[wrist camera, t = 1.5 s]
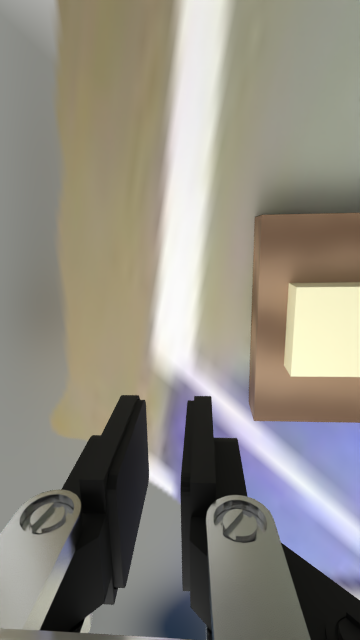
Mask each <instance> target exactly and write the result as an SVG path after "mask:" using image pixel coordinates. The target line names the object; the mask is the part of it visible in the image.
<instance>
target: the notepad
mask: <svg viewBox="0 0 360 640" xmlns="http://www.w3.org/2000/svg"><path fill="white" fill-rule="evenodd" d="M284 366H285V368H286V369H287V371H288V373H289V374H290V376H295V377H360V282H345V283H289V288H288V305H287V322H286V339H285V356H284Z"/></svg>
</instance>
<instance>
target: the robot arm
mask: <svg viewBox="0 0 360 640" xmlns="http://www.w3.org/2000/svg"><path fill="white" fill-rule="evenodd" d="M148 480H149V463H148V442H147V420H146V402H145V400H140V398H139V396H137V395H122V396H121V397H120V399H119V401H118V403H117V405H116V407H115V409H114V411H113V413H112V415H111V417H110V419H109V421H108V423H107V425H106V427H105V429H104V431H103V433H102V435H93V436H91V438H90V439H89V441H88V442H87V444H86V446H85V448H84V450H83V452H82V453H81V455H80V457H79V459H78V461H77V462H76V464H75V466H74V468H73V470H72V471H71V473H70V475H69V477H68V479H67V480H66V482H65V484H64V486H63V488H62V489H61V490H50V491H47V492H43V493H40V494H38V495H36V496H34V497H32V498H31V499H29V500H28V501H26V502H25V503H24V504H23V505H22V506H21V507H20V508H19V509H18V510H17V511H16V513H15V514H14V515H13V517H12V518H11V519H10V521H9V522H8V524H7V525H6V526H5V528H4V529H3V530H2V532H1V533H0V640H189V639H174V638H158V637H141V636H124V635H108V634H91V633H89V631H90V628H91V623H92V612H93V611H94V610H96V609H97V608H98V607H100V606H101V605H102V604H111V605H113V604H114V603H115V598H116V594H117V590H118V588H125V586H126V583H127V578H128V574H129V569H130V565H131V560H132V555H133V551H134V545H135V541H136V537H137V532H138V528H139V523H140V519H141V514H142V509H143V505H144V500H145V495H146V491H147V486H148ZM181 532H182V581H183V591H190V601H191V608H192V609H193V610H194V612H195V613H196V614H197V615H198V616H199V617H200V618H201V619H202V620H203V622H204V623H205V624H206V640H360V600H358V599H357V598H356V597H354V596H353V595H352V594H350V593H349V592H347V591H346V590H345V589H343V588H342V587H341V586H339V585H338V584H337V583H335V582H334V581H333V580H331V579H330V578H328V577H327V576H326V575H324V574H323V573H322V572H320V571H319V570H318V569H316V568H315V567H313V566H312V565H311V564H309V563H308V562H307V561H305V560H304V559H303V558H301V557H300V556H299V555H297V554H296V553H294V552H293V551H292V550H290V549H289V548H288V547H286V546H285V545H284V544H282V543H281V542H280V538H279V535H278V532H277V528H276V525H275V522H274V519H273V517H272V515H271V513H270V511H269V510H268V509H267V508H266V507H265V506H264V505H263V504H261V503H260V502H258V501H256V500H255V499H252V498H249V497H247V492H246V486H245V480H244V474H243V468H242V463H241V457H240V451H239V445H238V440H237V438H213V420H212V402H211V396H194V401H188V403H187V415H186V426H185V437H184V449H183V460H182V472H181Z"/></svg>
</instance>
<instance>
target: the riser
mask: <svg viewBox="0 0 360 640" xmlns="http://www.w3.org/2000/svg"><path fill="white" fill-rule="evenodd" d="M345 282H360V213H326V214H280V215H260V216H257V217H255V229H254V259H253V289H252V319H251V349H250V379H249V405H250V408H251V412H252V416H253V419H254V421H297V422H356V423H360V377H295V376H290V374H289V373H288V371H287V369H286V368H285V366H284V356H285V339H286V322H287V305H288V288H289V283H345Z"/></svg>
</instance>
